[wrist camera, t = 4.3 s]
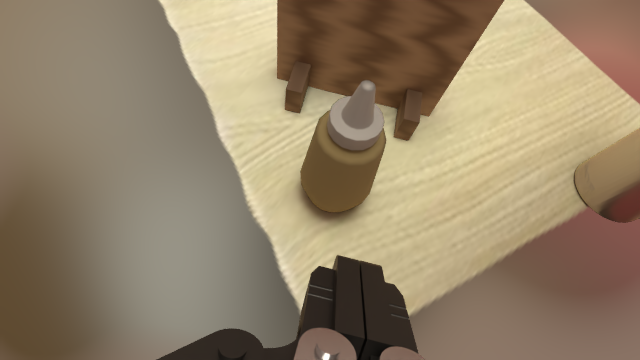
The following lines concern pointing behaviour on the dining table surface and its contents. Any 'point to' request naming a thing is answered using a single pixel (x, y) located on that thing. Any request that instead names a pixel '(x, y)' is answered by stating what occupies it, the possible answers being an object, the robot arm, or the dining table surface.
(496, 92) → the dining table surface
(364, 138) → the squeeze bottle
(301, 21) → the walnut wall board
